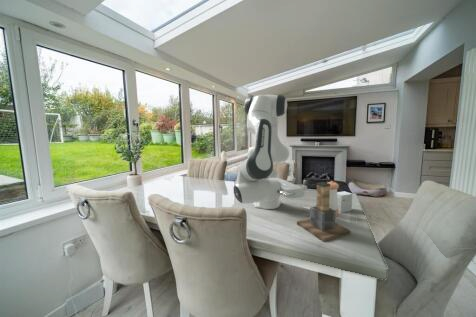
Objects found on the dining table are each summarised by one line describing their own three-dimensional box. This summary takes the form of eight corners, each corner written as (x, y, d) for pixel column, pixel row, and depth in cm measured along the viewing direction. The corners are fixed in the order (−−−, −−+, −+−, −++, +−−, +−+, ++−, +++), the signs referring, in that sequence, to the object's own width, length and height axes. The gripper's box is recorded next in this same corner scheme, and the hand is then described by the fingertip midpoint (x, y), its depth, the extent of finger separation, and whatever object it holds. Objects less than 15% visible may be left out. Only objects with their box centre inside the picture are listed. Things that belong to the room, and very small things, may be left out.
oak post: (315, 224, 98) (316, 183, 95) (322, 222, 100) (323, 182, 97) (322, 228, 94) (323, 185, 91) (329, 226, 96) (330, 184, 93)
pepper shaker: (332, 217, 108) (333, 183, 106) (321, 213, 115) (322, 180, 112) (340, 214, 112) (342, 181, 109) (329, 210, 118) (330, 178, 115)
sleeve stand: (296, 224, 103) (296, 205, 101) (321, 218, 108) (321, 200, 107) (323, 241, 86) (323, 219, 84) (350, 233, 92) (351, 213, 90)
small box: (343, 207, 122) (344, 190, 120) (351, 211, 116) (352, 193, 115) (333, 209, 119) (334, 192, 118) (341, 213, 114) (341, 195, 112)
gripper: (286, 187, 74) (315, 183, 79) (260, 176, 93) (285, 173, 98) (286, 204, 75) (315, 198, 80) (260, 189, 94) (285, 185, 98)
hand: (298, 184), depth 89 cm, fingers open, 8 cm apart
